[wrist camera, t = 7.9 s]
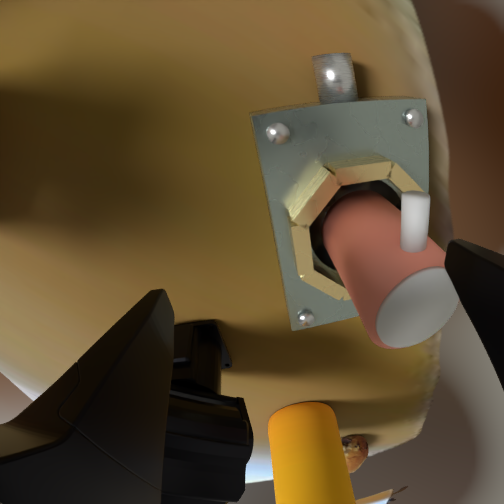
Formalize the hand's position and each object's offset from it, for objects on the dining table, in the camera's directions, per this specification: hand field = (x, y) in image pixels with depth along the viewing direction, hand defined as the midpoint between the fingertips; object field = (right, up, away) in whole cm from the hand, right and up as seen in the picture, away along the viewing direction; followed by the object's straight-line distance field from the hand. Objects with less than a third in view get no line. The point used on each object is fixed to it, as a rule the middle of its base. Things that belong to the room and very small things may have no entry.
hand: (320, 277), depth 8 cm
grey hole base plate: (+5, +5, +12) cm, 14 cm away
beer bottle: (+5, -22, +28) cm, 36 cm away
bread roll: (+14, -34, +36) cm, 51 cm away
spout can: (+5, +3, +10) cm, 11 cm away
